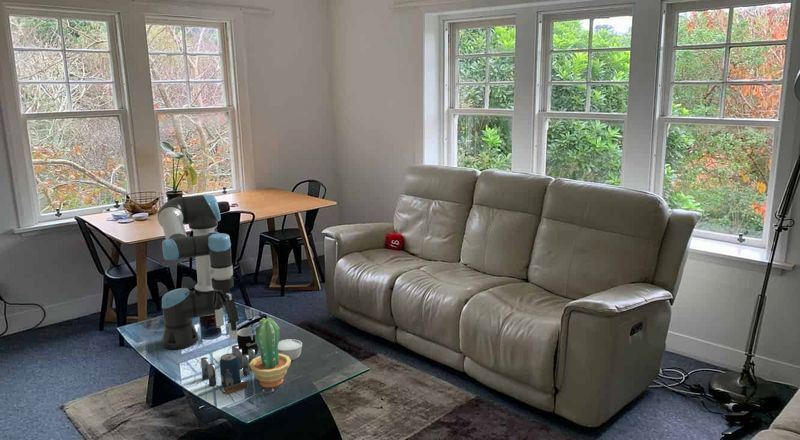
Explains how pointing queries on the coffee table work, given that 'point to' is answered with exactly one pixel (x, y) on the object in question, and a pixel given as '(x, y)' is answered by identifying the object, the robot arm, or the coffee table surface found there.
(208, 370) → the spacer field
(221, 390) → the bay lines
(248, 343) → the mug
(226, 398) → the coffee table surface
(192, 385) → the coffee table surface
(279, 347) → the ramekin
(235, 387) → the walnut stop
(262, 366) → the potted cactus
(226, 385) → the soda can
